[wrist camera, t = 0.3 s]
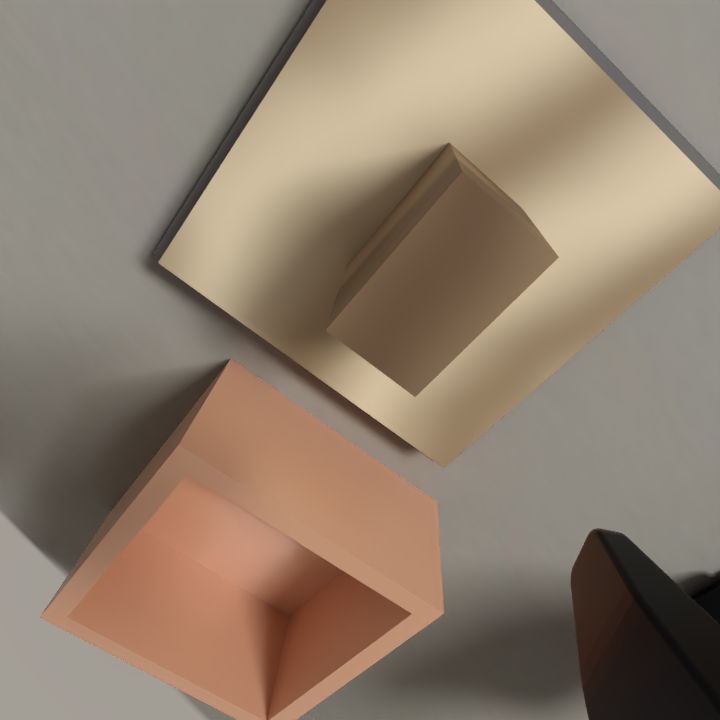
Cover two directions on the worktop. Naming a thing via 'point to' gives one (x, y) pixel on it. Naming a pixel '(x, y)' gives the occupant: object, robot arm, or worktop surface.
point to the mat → (304, 25)
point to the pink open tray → (257, 558)
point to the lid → (440, 211)
